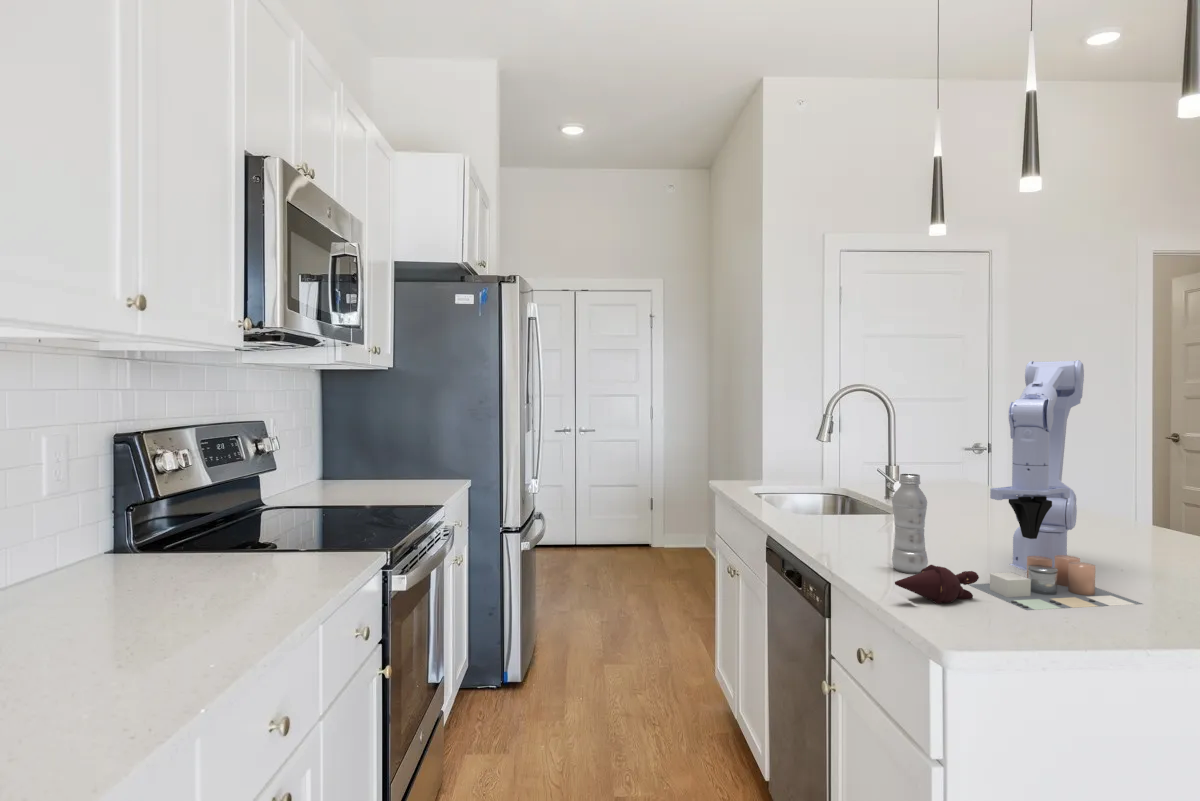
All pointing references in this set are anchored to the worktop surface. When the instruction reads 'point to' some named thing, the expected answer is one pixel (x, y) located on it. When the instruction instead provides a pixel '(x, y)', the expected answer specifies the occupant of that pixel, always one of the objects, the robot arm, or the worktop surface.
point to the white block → (1010, 584)
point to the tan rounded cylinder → (1081, 578)
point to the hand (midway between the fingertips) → (1029, 537)
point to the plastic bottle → (909, 526)
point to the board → (1061, 599)
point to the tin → (1043, 579)
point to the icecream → (939, 584)
